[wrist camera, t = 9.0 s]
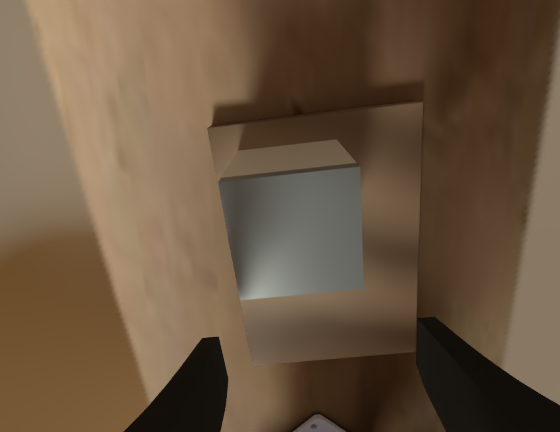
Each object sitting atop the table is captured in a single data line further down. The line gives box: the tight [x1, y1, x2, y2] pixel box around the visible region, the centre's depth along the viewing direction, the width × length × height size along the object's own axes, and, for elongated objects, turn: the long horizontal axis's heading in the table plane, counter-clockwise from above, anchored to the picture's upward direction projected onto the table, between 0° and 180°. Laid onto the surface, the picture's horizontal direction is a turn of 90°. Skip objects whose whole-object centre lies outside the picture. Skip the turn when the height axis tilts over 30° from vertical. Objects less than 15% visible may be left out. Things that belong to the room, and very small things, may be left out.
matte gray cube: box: [218, 139, 364, 300], centre depth 16 cm, size 5×5×6 cm
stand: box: [207, 101, 423, 366], centre depth 19 cm, size 16×11×5 cm
